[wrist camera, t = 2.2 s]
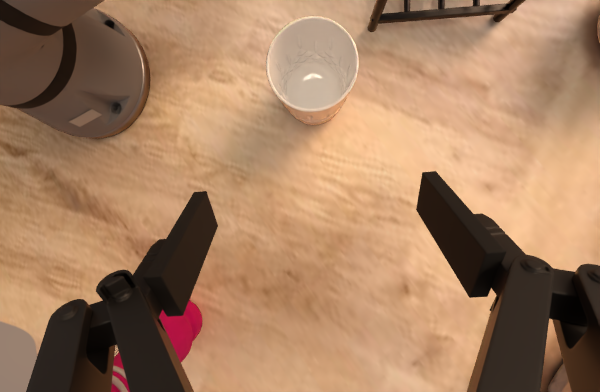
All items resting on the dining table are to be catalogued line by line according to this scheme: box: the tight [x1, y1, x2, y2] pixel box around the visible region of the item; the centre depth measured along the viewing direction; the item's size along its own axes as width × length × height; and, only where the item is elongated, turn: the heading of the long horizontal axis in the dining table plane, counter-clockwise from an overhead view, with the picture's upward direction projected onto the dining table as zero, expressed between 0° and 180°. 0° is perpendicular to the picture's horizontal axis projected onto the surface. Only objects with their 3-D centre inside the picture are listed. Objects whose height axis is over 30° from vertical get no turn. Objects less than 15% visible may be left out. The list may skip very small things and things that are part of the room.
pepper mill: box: [111, 300, 202, 392], centre depth 27 cm, size 7×7×20 cm
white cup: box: [266, 16, 359, 125], centre depth 28 cm, size 8×8×10 cm
